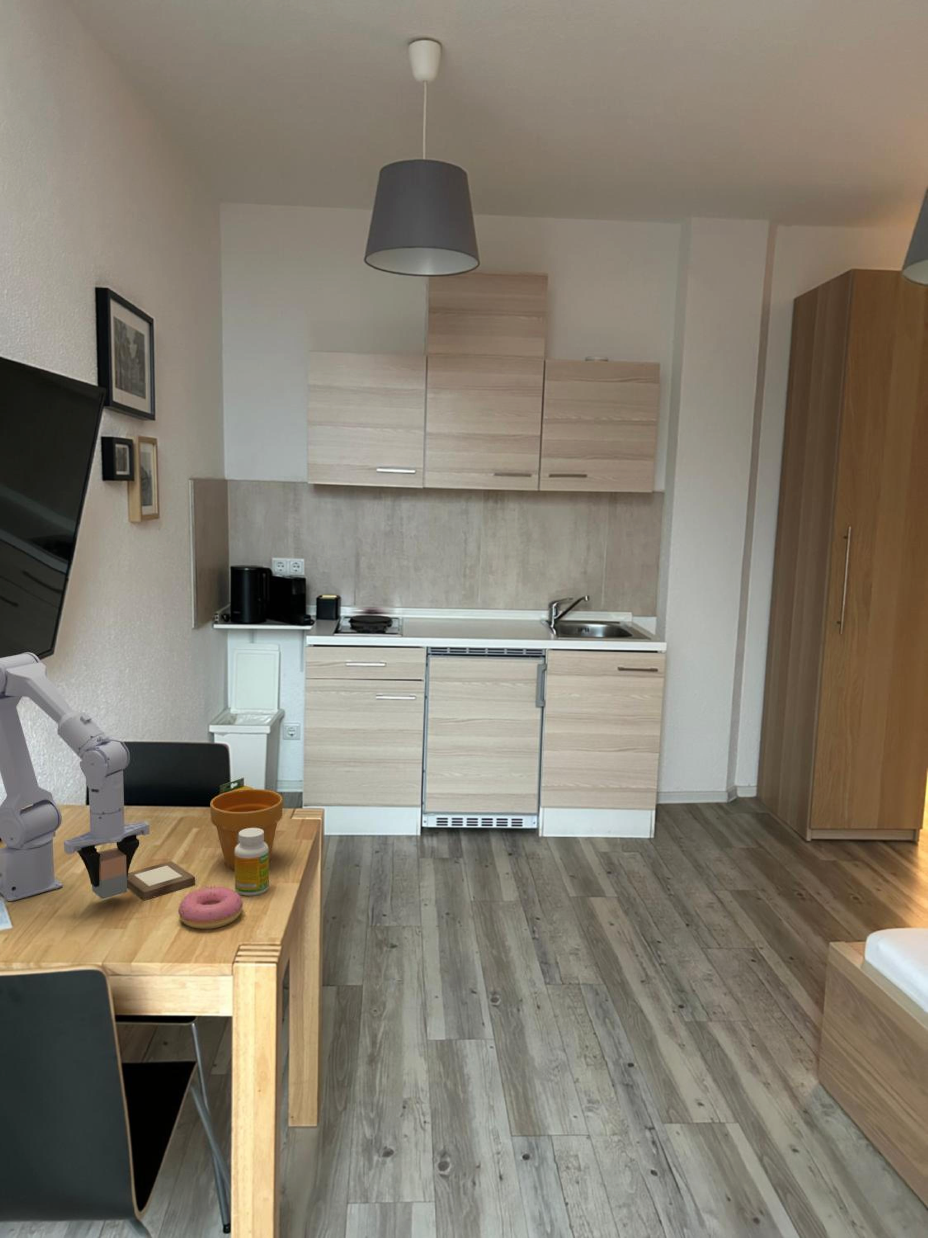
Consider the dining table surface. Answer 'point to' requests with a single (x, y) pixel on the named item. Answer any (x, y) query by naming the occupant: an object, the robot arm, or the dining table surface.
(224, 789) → the crayon box
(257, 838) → the supplement bottle
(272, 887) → the dining table surface
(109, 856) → the block stack
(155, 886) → the walnut board
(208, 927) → the doughnut
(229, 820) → the flower pot
